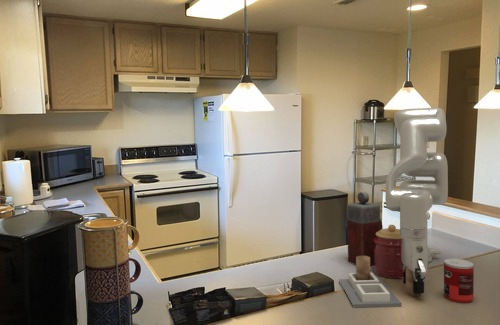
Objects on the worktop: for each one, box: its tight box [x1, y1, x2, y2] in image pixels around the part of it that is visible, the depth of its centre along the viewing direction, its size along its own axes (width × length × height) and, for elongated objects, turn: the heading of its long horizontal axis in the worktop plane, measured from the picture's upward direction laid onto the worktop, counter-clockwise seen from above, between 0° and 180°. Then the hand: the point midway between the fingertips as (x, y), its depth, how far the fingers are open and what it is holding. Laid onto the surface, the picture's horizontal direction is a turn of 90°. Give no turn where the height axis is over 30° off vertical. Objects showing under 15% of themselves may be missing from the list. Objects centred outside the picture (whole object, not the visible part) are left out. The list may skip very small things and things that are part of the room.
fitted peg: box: [355, 256, 371, 281], centre depth 129 cm, size 4×4×9 cm
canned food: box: [443, 258, 475, 304], centre depth 118 cm, size 8×8×11 cm
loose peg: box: [405, 266, 422, 297], centre depth 122 cm, size 4×4×9 cm
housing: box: [338, 271, 402, 308], centre depth 124 cm, size 14×20×4 cm
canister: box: [373, 224, 404, 279], centre depth 141 cm, size 13×13×18 cm
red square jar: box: [346, 191, 384, 267], centre depth 153 cm, size 9×11×28 cm
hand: (413, 287), depth 123 cm, fingers open, 7 cm apart
